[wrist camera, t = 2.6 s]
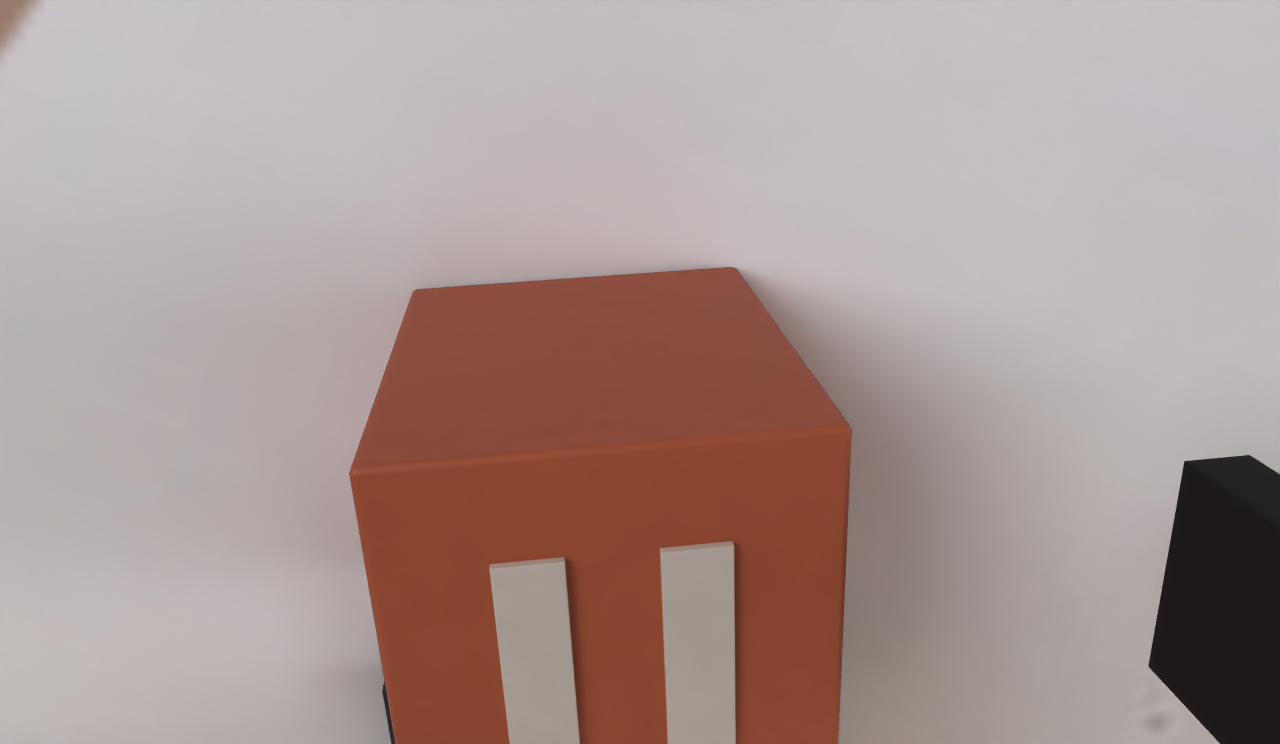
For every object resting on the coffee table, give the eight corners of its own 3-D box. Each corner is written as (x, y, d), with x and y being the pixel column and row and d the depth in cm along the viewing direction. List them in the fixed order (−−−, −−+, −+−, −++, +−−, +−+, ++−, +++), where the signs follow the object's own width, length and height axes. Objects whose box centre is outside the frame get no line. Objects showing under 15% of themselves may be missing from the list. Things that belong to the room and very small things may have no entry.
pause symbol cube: (411, 288, 14) (344, 475, 9) (736, 265, 14) (858, 430, 9) (448, 569, 16) (411, 864, 10) (738, 541, 16) (840, 813, 11)
